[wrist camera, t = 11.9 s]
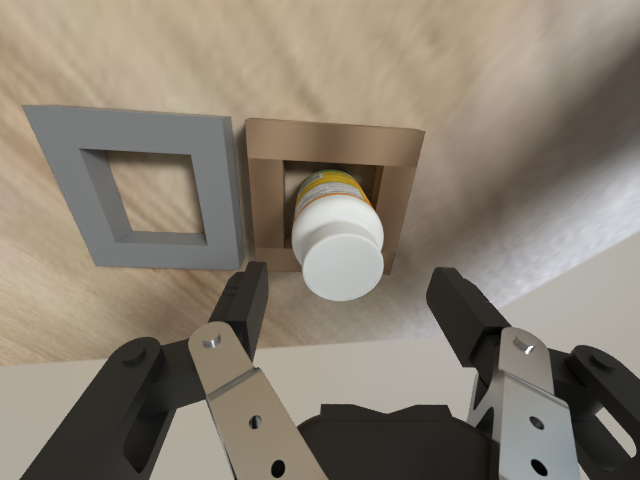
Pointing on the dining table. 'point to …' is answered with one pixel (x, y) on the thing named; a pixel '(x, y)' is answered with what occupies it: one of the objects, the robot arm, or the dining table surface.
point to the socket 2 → (335, 147)
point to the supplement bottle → (337, 237)
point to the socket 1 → (103, 197)
